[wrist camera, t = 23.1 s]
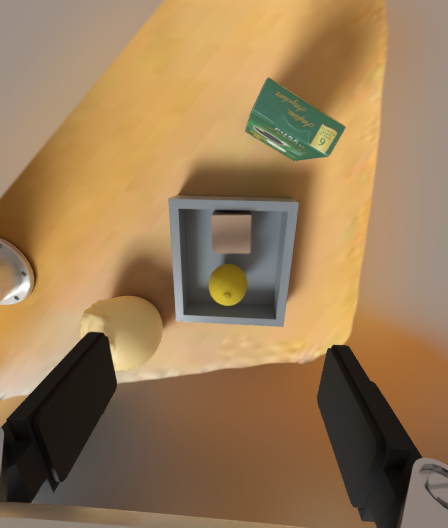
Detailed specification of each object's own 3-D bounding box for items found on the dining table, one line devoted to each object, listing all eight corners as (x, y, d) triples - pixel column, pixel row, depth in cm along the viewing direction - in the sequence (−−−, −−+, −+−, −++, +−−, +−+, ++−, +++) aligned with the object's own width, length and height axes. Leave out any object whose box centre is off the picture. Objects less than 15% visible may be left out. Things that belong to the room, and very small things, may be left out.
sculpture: (101, 281, 42) (58, 317, 32) (170, 293, 42) (149, 332, 32) (103, 335, 46) (65, 382, 36) (166, 346, 46) (145, 395, 36)
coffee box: (308, 142, 32) (350, 125, 20) (295, 163, 33) (328, 159, 21) (255, 109, 31) (265, 71, 19) (244, 132, 32) (246, 109, 20)
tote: (183, 304, 42) (176, 321, 38) (177, 194, 36) (168, 198, 31) (278, 309, 42) (283, 326, 37) (291, 197, 35) (299, 202, 30)
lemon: (251, 263, 38) (254, 286, 30) (239, 292, 40) (239, 321, 32) (218, 251, 38) (212, 272, 30) (207, 282, 40) (200, 308, 32)
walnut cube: (215, 209, 35) (211, 215, 31) (249, 209, 35) (251, 215, 30) (216, 242, 37) (212, 253, 32) (249, 242, 37) (250, 253, 32)
